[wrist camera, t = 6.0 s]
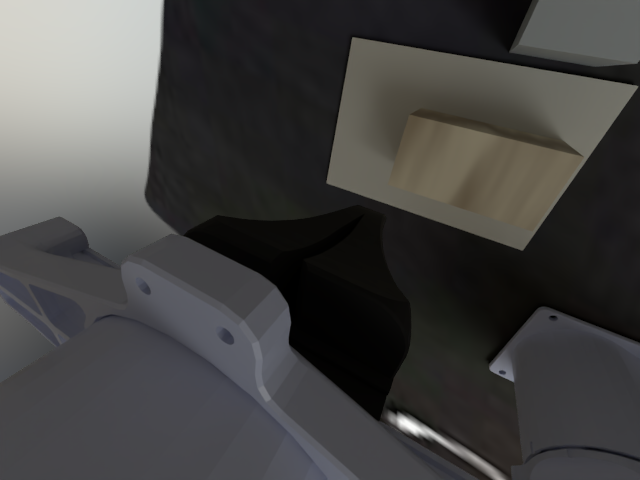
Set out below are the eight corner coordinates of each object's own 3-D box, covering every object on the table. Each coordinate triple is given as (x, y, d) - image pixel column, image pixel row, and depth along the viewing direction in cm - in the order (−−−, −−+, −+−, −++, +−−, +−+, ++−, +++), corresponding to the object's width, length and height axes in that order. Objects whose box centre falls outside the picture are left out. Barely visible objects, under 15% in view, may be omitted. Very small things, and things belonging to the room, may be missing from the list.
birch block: (420, 107, 18) (563, 140, 16) (400, 167, 20) (523, 204, 18) (408, 114, 15) (584, 157, 13) (386, 184, 17) (532, 231, 15)
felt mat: (635, 86, 14) (638, 85, 14) (522, 248, 19) (522, 250, 19) (354, 37, 18) (352, 37, 18) (327, 182, 24) (326, 183, 23)
